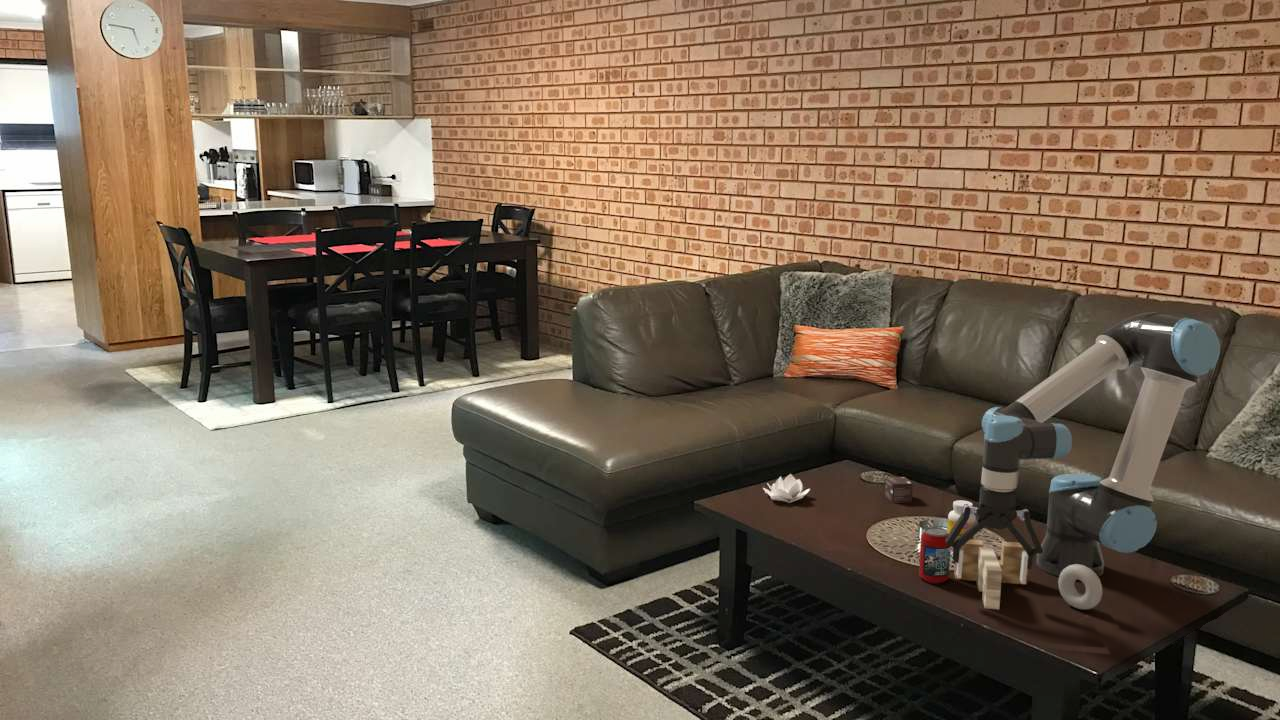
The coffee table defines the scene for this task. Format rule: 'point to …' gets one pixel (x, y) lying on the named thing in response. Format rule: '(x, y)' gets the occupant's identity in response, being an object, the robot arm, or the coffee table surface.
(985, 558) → the notched cream plank
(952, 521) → the supplement bottle
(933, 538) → the beverage can
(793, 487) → the lotus flower
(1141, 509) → the robot arm
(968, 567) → the oak rail
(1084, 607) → the donut
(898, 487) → the box
